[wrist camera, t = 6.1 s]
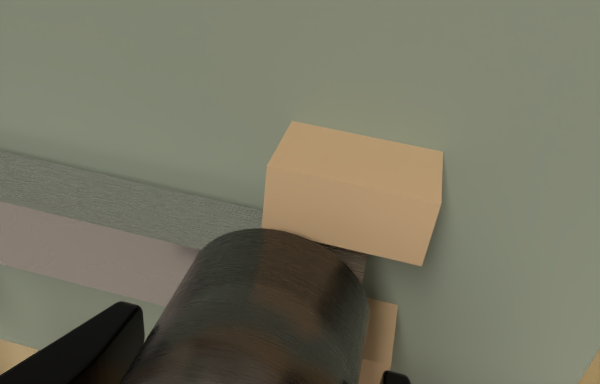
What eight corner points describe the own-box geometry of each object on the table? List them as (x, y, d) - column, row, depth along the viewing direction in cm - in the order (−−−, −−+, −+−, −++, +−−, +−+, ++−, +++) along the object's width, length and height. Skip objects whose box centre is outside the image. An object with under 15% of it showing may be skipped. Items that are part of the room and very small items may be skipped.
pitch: (824, -52, 8) (944, -15, 6) (513, 462, 16) (521, 550, 14) (-424, -230, 11) (-613, -243, 9) (-163, 277, 19) (-234, 328, 17)
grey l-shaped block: (400, 178, 11) (347, 518, 5) (362, 330, 13) (300, 665, 8) (-143, 62, 12) (-595, 236, 7) (-85, 217, 15) (-386, 432, 9)
